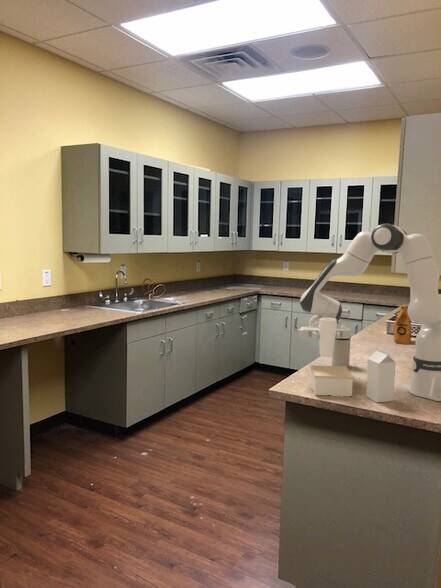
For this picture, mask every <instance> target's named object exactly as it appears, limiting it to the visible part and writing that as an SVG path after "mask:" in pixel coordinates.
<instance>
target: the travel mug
mask: <svg viewBox="0 0 441 588" xmlns="http://www.w3.org/2000/svg"><path fill="white" fill-rule="evenodd" d="M350 355H351V335H350V338H349V339H341V338H339V339H335V342H334V349H333V356H332V358H331V366H346V367H347V368H348V367H350V360H351V359H350Z"/></svg>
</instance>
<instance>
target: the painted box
mask: <svg viewBox="0 0 441 588" xmlns="http://www.w3.org/2000/svg"><path fill="white" fill-rule="evenodd" d="M309 367H310V387H311V386H312V387H311V389H312V388H313V389H312V391H314V392H313V394H314V396H315V395H332V396H331V397H343V396H352V397H353V381H354V380H355V378H354V375H353V374H352V373H351V371H350V370H349V368H348V367H346V366H333V365H315V364H314V365H313V364H310V366H309Z"/></svg>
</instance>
